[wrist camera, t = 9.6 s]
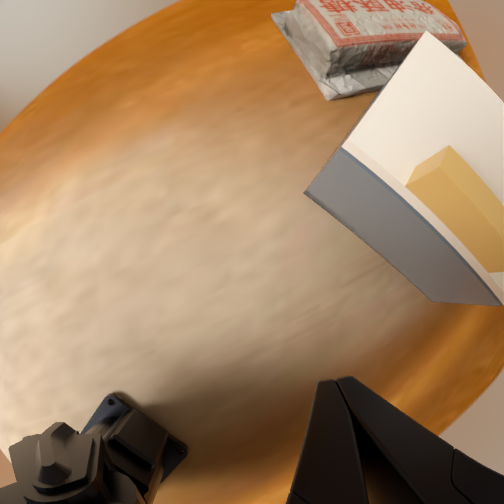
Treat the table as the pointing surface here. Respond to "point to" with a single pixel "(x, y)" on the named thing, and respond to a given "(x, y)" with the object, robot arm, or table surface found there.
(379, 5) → the packaged product
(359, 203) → the storage box
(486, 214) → the lid
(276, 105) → the table surface
